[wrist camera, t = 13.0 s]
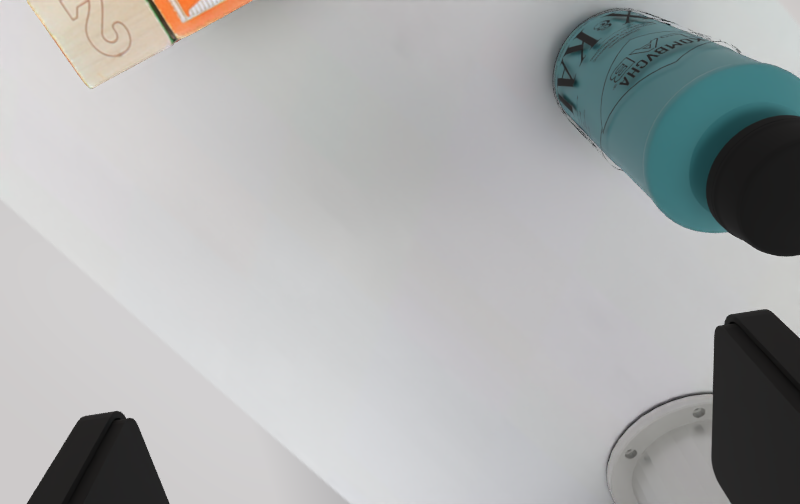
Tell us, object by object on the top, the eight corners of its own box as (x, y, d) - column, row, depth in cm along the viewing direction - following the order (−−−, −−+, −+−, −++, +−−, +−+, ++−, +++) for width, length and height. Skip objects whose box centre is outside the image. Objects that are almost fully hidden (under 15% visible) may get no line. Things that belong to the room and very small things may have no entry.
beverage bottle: (682, 58, 38) (968, 186, 20) (593, 146, 40) (781, 335, 22) (605, -26, 36) (848, 36, 18) (515, 72, 38) (653, 214, 20)
